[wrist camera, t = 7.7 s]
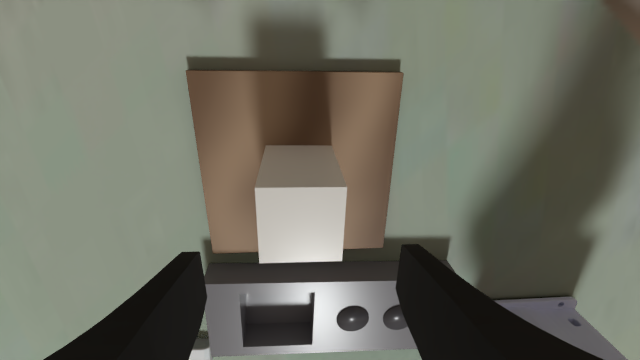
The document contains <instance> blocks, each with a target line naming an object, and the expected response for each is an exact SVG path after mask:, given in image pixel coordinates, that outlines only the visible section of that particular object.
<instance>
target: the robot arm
mask: <svg viewBox="0 0 640 360" xmlns="http://www.w3.org/2000/svg"><path fill="white" fill-rule="evenodd" d="M395 289H396V292H397V296H398V300H399V303H400V306H401V310H402V313H403V316H404V318H405V321H406V323H407V325H408V328H409V330H410V333H411V335H412V337H413V340H414V342H415V344H416V346H417V349H418V351H419V353H420V356H421V358H422V360H628V359H626V358H625V357H624V356H623V355H622V354H621V353H620V352H619V351H618V350H617V349H616V348H615V347H614V346H613V345H612V344H611V343H610V342H609V341H608V340H606V339H605V338H604V337H603V336H602V335H601V334H600V333H599V332H598V331H597V330H596V329H595V328H594V327H593V326H592V325H591V324H590V323H589V322H588V321H587V320H585V319H584V318H583V317H582V316H581V315H580V314H579V313H578V312H577V311H576V310H575V307H576V305H577V300H576V299H575V298H573V297H553V298H533V299H513V300H492V299H490V298H489V297H487V296H486V295H485V294H483V293H482V292H480V291H479V290H477V289H476V288H474V287H473V286H472V285H470V284H469V283H468V282H466V281H465V280H464V279H462V278H461V277H460V276H458V275H457V274H456V273H454V272H453V271H452V270H451V269H449V268H448V267H447V266H445V265H444V264H443V263H442V262H440V261H439V260H438V259H437V258H435V257H434V256H433V255H432V254H430V253H429V252H428V251H427V250H425V249H424V248H423V247H421V246H420V245H418V244H410V245H402V247H401V254H400V261H399V267H398V274H397V281H396V288H395ZM206 301H207V292H206V286H205V280H204V274H203V268H202V262H201V256H200V252H181V253H180V254H179V255H178V256H177V257H176V258H174V259H173V260H172V261H171V262H170V263H169V264H168V265H167V266H166V267H164V268H163V269H162V270H161V271H160V272H159V273H158V274H157V275H156V276H154V277H153V278H152V279H151V280H150V281H149V282H148V283H146V284H145V285H144V286H143V287H142V288H141V289H140V290H139V291H137V292H136V293H135V294H134V295H133V296H131V297H130V298H129V299H128V300H126V301H125V302H124V303H123V304H121V305H120V306H119V307H118V308H116V309H115V310H114V311H113V312H112V313H110V314H109V315H108V316H107V317H105V318H104V319H103V320H101V321H100V322H99V323H97V324H96V325H94V326H93V327H92V328H90V329H89V330H88V331H86V332H85V333H83V334H82V335H80V336H79V337H77V338H76V339H75V340H73V341H72V342H70V343H69V344H67V345H66V346H64V347H63V348H61V349H60V350H58V351H56V352H55V353H53V354H52V355H50V356H48V357H47V358H45V359H44V360H189V357H190V354H191V352H192V349H193V346H194V343H195V340H196V338H197V335H198V332H199V329H200V326H201V323H202V318H203V314H204V310H205V305H206Z"/></svg>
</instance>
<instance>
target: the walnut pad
mask: <svg viewBox="0 0 640 360" xmlns="http://www.w3.org/2000/svg"><path fill="white" fill-rule="evenodd" d="M186 76H187V82H188V89H189V96H190V102H191V109H192V116H193V123H194V129H195V136H196V143H197V150H198V156H199V163H200V170H201V176H202V183H203V190H204V197H205V203H206V210H207V217H208V224H209V230H210V237H211V244H212V250H213V254H216V253H244V252H259V249H258V233H257V217H256V201H255V185H256V181H257V177H258V173H259V169H260V166H261V162H262V158H263V154H264V150H265V146H266V145H327V146H332V148H333V150H334V153H335V156H336V158H337V161H338V164H339V166H340V169H341V172H342V174H343V177H344V180H345V182H346V185H347V197H346V212H345V226H344V241H343V249H360V248H383V243H384V234H385V226H386V217H387V209H388V200H389V192H390V183H391V175H392V166H393V158H394V149H395V141H396V132H397V124H398V115H399V107H400V98H401V90H402V81H403V73H402V72H356V71H260V70H186Z"/></svg>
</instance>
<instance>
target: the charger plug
mask: <svg viewBox="0 0 640 360" xmlns="http://www.w3.org/2000/svg"><path fill="white" fill-rule="evenodd" d="M346 197H347V185H346V182H345V180H344V177H343V174H342V172H341V169H340V166H339V164H338V161H337V158H336V156H335V153H334V150H333V148H332V146H327V145H266V146H265V150H264V154H263V158H262V162H261V166H260V169H259V173H258V177H257V181H256V185H255V201H256V217H257V233H258V249H259V263H290V262H325V261H342V255H343V241H344V226H345V212H346Z"/></svg>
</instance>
